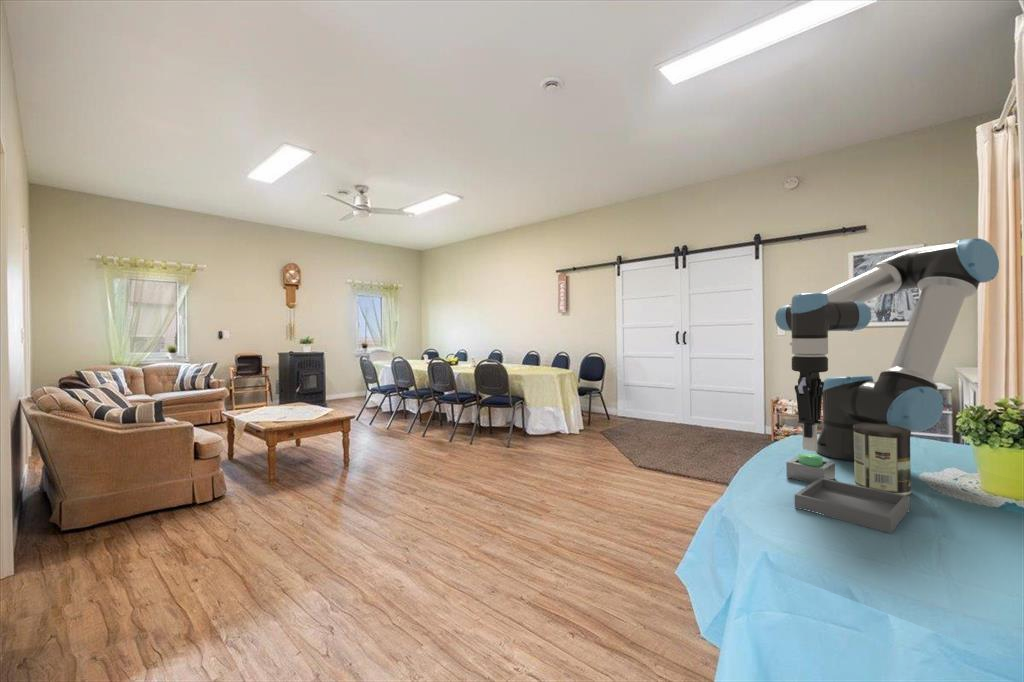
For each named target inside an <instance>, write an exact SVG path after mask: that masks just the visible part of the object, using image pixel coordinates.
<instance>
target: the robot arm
mask: <svg viewBox="0 0 1024 682" xmlns="http://www.w3.org/2000/svg"><path fill="white" fill-rule="evenodd" d="M999 269H1000V261H999V256H998V254H997V251H996V249H995V248H994V247H993V245H992V244H991V243H990V242H988V241H987V240H985V239H983V238H978V237H975V238H974V237H973V238H965V239H962V238H961V239H958V240H955V241H950V242H948V241H947V242H942V243H937V244H931V245H925V246H918V247H913V248H910V249H907V250H905V251H901V252H899V253H897V254H895V255H892V256H890V257H888V258H886V259H884V260H881V261H879V262H877V263H875V264H872V265H871V266H870V267H869V268H868V269H867V271H866V272H863V273H861V274H860V275H857V276H855V277H853V278H851V279H849V280H847V281H845V282H842V283H841V284H838V285H835V286H834V287H833V286H832V287H831V288H829V289H828V290H825V291H823V292H805V293H797V294H795V295H793V296H792V298H791V304H787V305H783V306H781V307H779V308H778V309H777V311H776V313H775V317H774V318H775V323H776V325H777V327H778V328H779V329H781V330H782V331H786V332H787V331H788V332H791V341H790V342H789V346H791V354H792V355H793V356H792V357H791V370H792V371H793V372H798V373H799V375H798V376H799V377H798V379H797V384H794V391H795V395H796V397H795V398H796V405H797V414H798V415H797V416H798V424H801V425H802V450H806V451H811V452H817V453H818V455H819V454H820V455H821V456H825V457H829V458H833V459H837V460H843V461H849V462H850V461H851V462H852V461H853V462H854V429H853V425H856V424H883V425H892V426H898V427H903V428H906V429H909V430H911V433H917V432H918V433H919V432H924V431H925V430H930V428H932V427H934V426H935V425H936V424H937V423H938V421H939V420H940V418H941V417H942V414H943V412H944V407H945V406H944V404H942V403H944V399H943V396H942V394H941V393H940V392H939V391H938V387H939V386H938V384H936V382H935V381H934V376H935V373H936V371H937V369H938V367H939V364H940V361H941V359H942V356H943V354H944V352H945V350H946V347H947V344H948V341H949V338H950V337H951V334H952V332H953V329H954V326H955V323H956V321H957V319H958V316H959V314H960V311H961V309H962V307H963V303H964V301H965V299H966V298H969V297H972V296H974V295H975V294H976V293H977V290H978V287H979V286H980V283H981V284H982V283H988V282H991V281H992V280H994V279H995V278H997V276H998V273H999ZM917 288H918V289H919V290H920V291H921V292H920V295H919V297H918V300H917V302H916V305H915V307H914V309H913V311H912V314H911V317H910V319H909V321H908V324H907V326H906V330H905V332H904V334H903V336H902V339H901V341H900V344H899V345H898V348H897V350H896V353H895V356H894V359H893V360H892V364H891V366H890V368H888V369H885V370H882V371H880V373H879V376H878V378H877V381H874V379H873V376H872V375H850V376H847V375H846V376H830V377H829V376H828V377H826V378H825V379H824V380H823V381H822V378H821V377H820V375H821V374H820V373H825V372H828V370H829V358H828V357H827V356H826V355H827V354H829V332H842V331H843V332H845V331H846V332H853V331H859V330H863V329H865V328H866V327H867V326H869V323H871V320H872V310H871V308H870V307H869V306H868V304H866V302H867V301H871V300H872V299H875V298H877V297H878V296H881V295H891V294H893V293H896V292H898V291H902V290H908V289H917ZM821 413H822V414H821ZM821 416H822V420H821ZM818 425H822V428H821V431H820V432H819V435H818Z"/></svg>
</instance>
